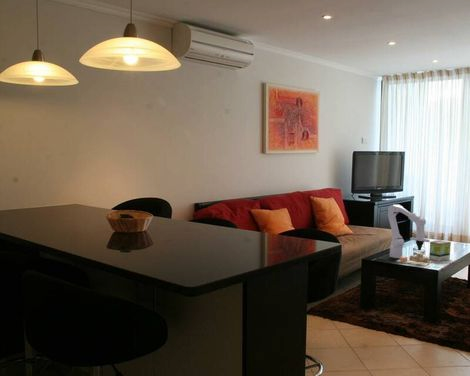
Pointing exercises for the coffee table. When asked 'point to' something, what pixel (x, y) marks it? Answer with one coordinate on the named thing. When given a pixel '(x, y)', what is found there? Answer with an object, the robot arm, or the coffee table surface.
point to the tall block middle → (419, 257)
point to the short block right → (426, 260)
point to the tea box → (439, 250)
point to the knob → (403, 258)
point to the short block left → (412, 258)
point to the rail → (414, 263)
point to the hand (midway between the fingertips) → (419, 250)
